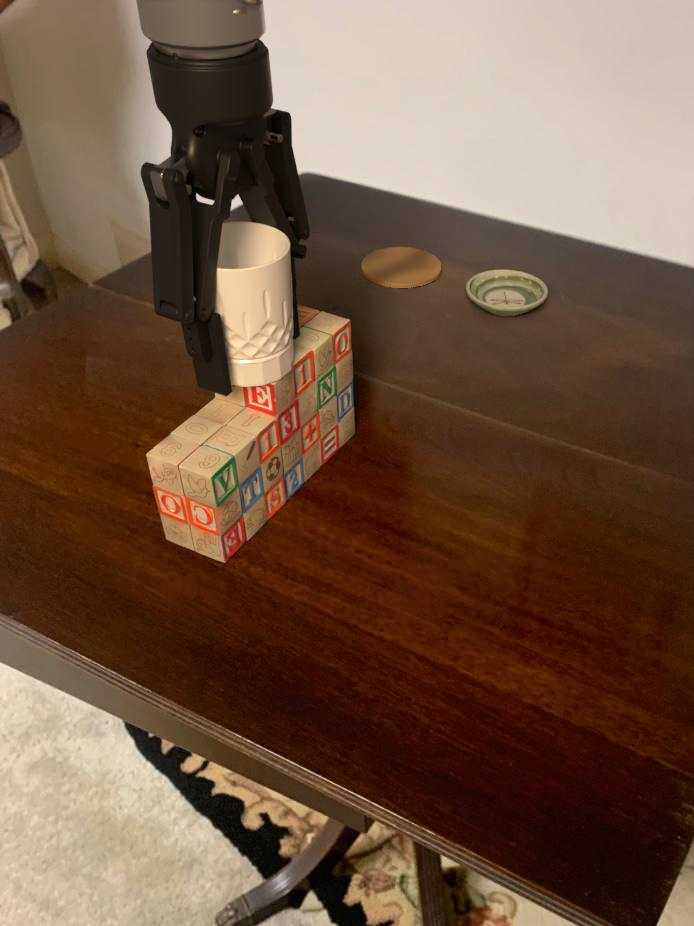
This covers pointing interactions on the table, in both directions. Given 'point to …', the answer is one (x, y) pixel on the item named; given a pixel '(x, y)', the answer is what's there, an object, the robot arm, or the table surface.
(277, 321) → the white cup
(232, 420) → the stack of blocks
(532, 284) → the saucer
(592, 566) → the table surface
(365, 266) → the cork coaster
